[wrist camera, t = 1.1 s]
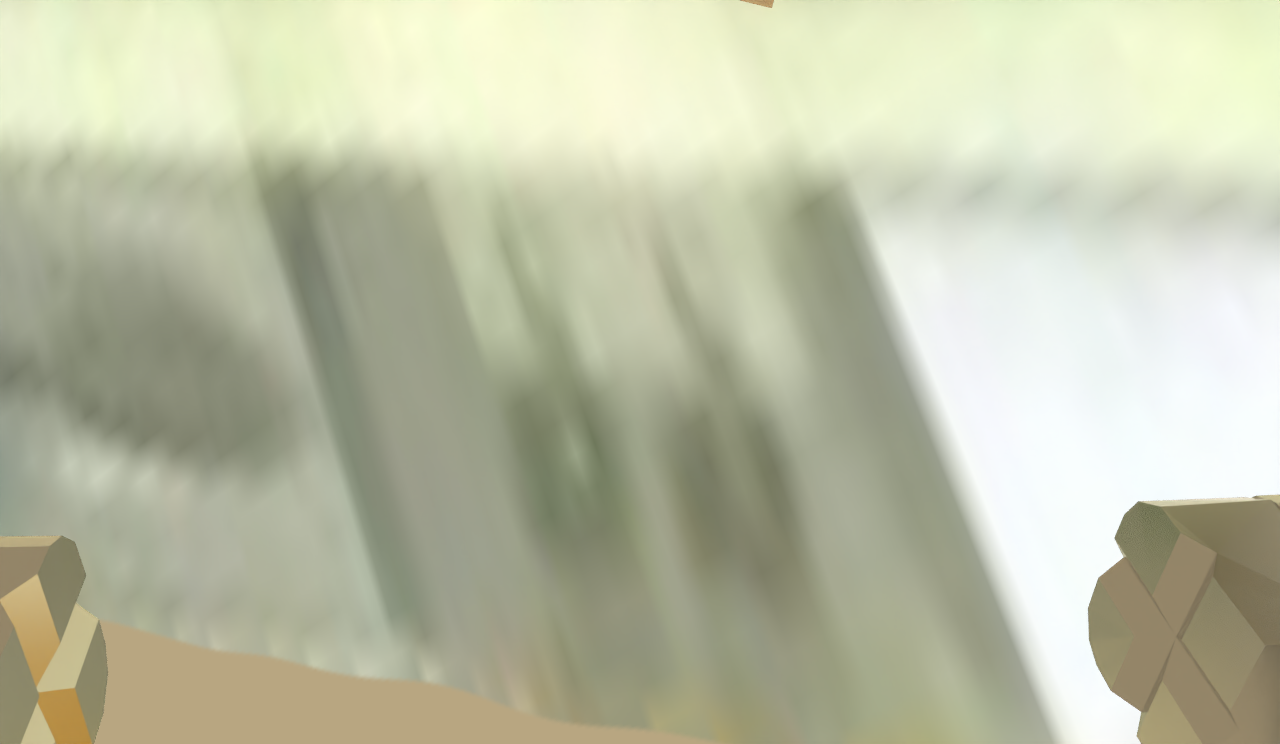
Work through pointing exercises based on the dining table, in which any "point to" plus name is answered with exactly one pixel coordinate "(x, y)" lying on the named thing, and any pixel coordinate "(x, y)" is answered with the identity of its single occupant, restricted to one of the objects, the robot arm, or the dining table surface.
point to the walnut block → (761, 2)
